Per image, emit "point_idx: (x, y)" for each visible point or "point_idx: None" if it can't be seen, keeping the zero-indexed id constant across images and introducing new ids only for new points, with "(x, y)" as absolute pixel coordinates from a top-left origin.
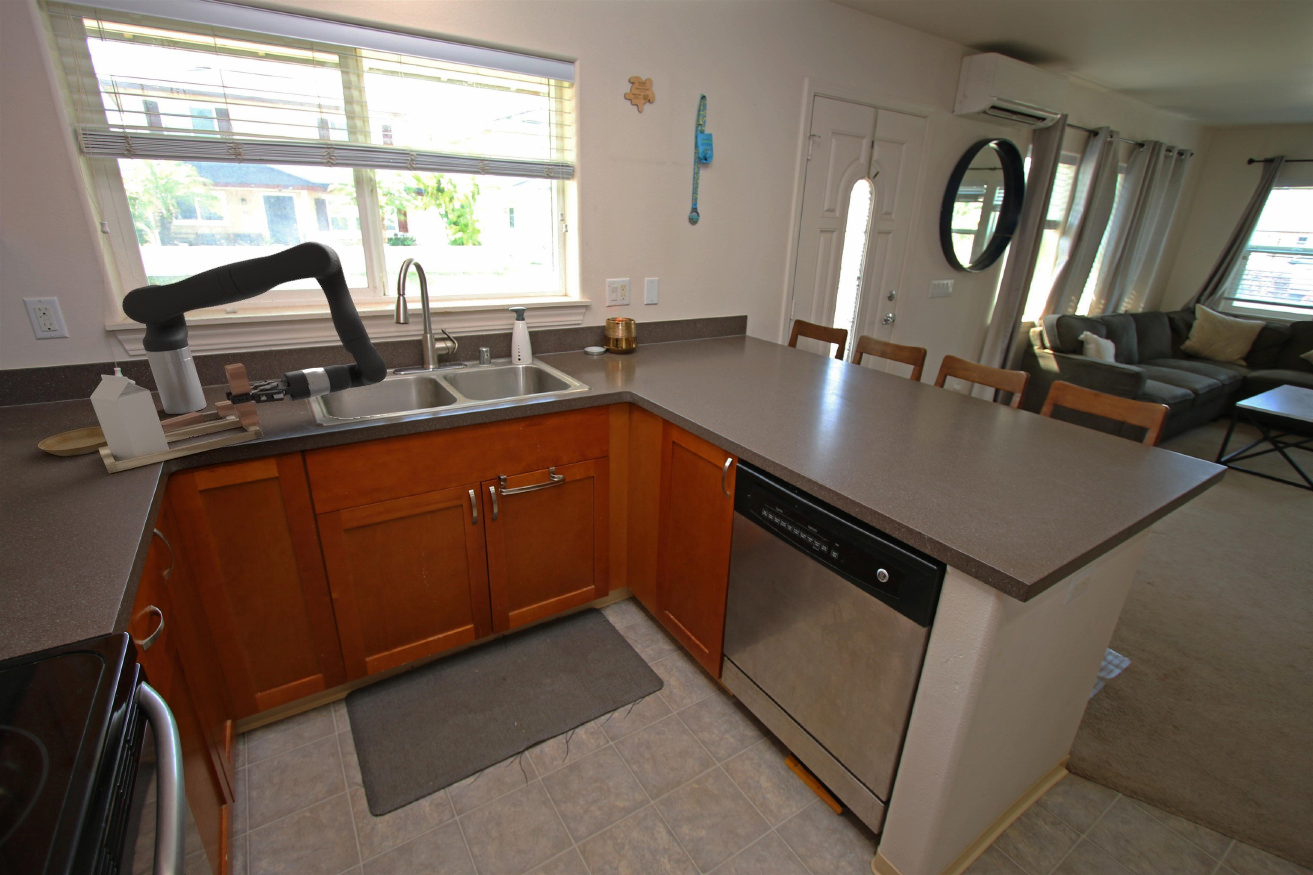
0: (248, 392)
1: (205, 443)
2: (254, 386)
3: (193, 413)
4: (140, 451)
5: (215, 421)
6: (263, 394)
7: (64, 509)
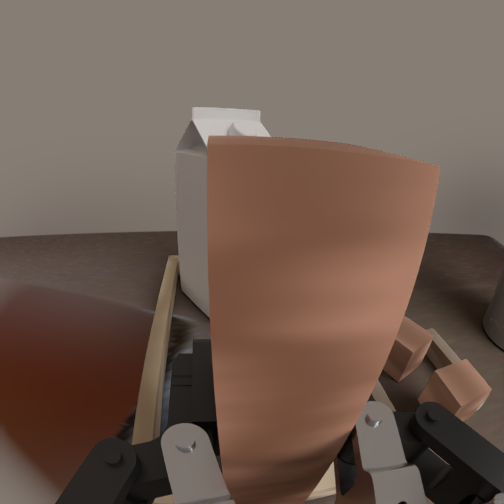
0: (191, 424)
1: (147, 356)
2: (367, 474)
3: (419, 335)
4: (184, 274)
5: (376, 391)
6: (73, 493)
7: (94, 248)
